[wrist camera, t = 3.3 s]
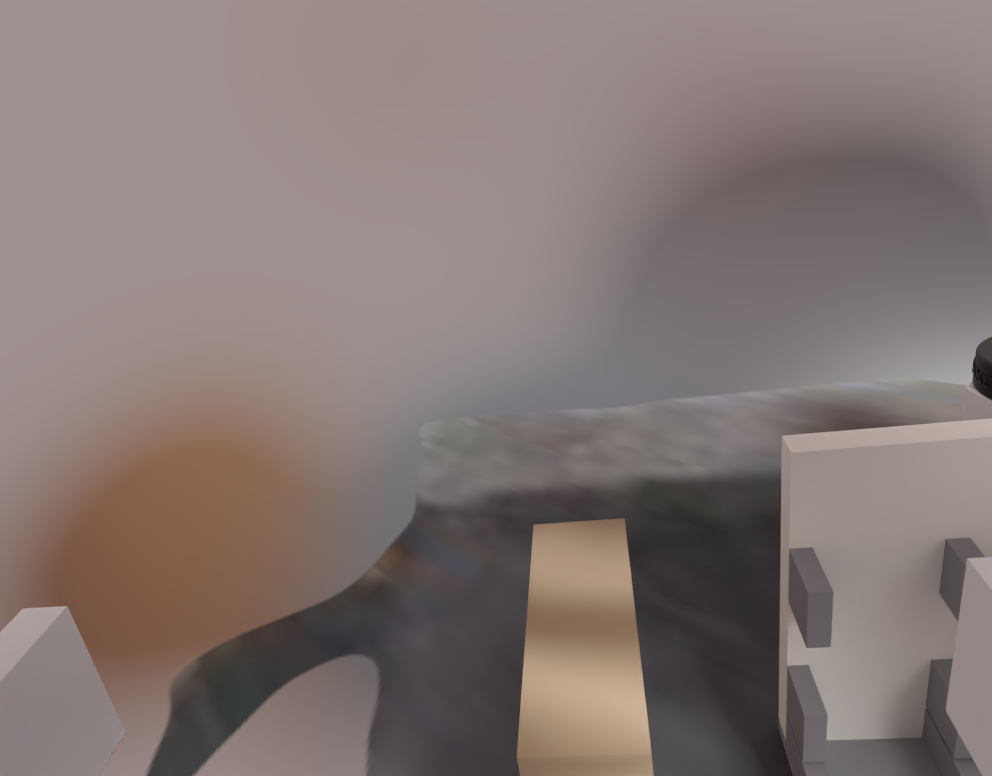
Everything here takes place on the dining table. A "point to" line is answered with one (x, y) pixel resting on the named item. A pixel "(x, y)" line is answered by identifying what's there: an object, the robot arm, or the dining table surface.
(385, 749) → the dining table surface
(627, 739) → the tan patterned box
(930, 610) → the cabinet
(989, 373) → the jar
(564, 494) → the dining table surface
